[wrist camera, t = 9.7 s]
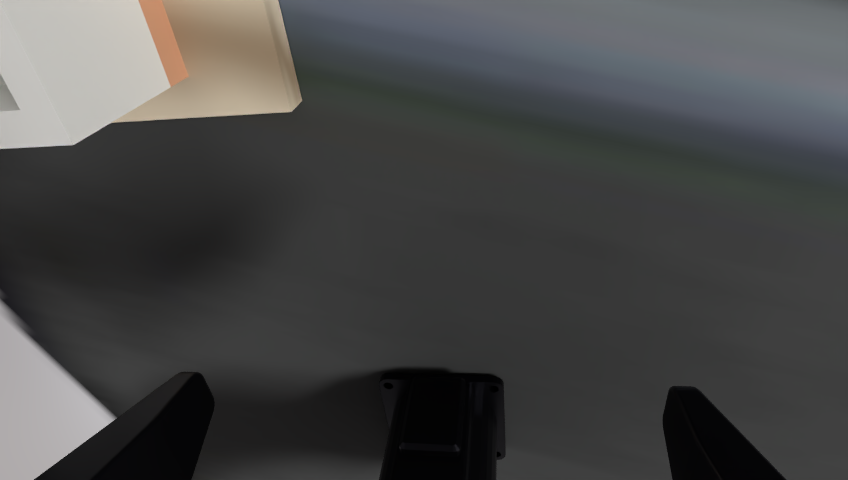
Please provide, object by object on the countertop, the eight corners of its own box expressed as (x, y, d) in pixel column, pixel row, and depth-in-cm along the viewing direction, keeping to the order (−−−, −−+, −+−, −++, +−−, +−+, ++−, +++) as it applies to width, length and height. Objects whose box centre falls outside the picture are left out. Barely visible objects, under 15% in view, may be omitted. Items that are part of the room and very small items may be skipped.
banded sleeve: (188, 76, 18) (73, 144, 14) (66, 85, 19) (-85, 153, 14) (130, -90, 16) (-41, -79, 11) (-10, -71, 17) (-228, -53, 12)
